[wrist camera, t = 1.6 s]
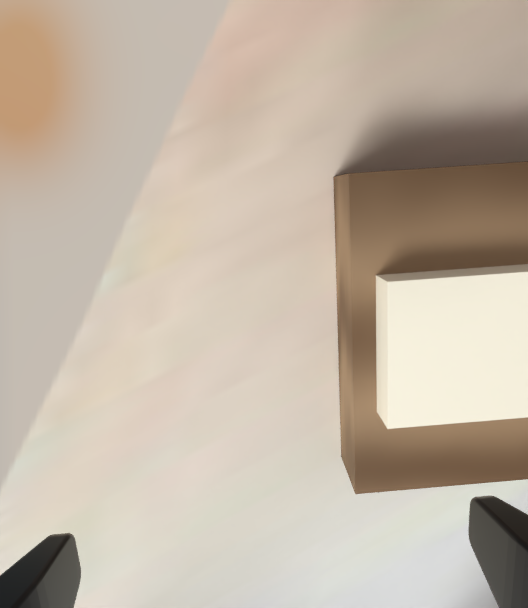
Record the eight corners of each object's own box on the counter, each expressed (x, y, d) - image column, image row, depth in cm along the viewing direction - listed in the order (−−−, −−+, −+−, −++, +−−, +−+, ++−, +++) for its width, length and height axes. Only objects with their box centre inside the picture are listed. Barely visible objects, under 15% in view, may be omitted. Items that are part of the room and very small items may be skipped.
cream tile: (557, 396, 20) (582, 412, 18) (376, 411, 19) (387, 429, 18) (570, 260, 18) (598, 266, 17) (375, 275, 18) (387, 282, 17)
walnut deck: (567, 437, 24) (613, 471, 21) (341, 456, 23) (355, 493, 20) (596, 159, 20) (655, 152, 17) (333, 176, 20) (349, 173, 17)
